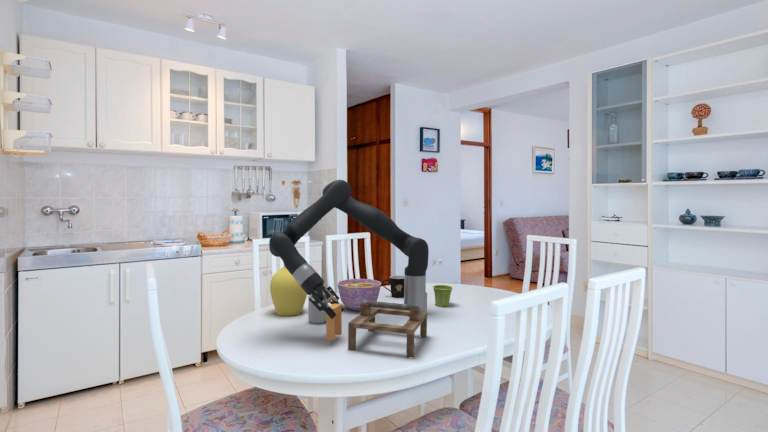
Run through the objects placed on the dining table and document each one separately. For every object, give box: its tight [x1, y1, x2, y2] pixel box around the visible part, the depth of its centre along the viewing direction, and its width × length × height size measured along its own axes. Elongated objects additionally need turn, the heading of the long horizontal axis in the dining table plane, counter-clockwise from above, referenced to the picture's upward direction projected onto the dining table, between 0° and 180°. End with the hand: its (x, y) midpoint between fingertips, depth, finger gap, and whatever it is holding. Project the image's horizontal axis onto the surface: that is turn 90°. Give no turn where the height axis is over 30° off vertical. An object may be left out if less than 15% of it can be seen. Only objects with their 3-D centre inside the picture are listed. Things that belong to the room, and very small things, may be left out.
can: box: [307, 294, 326, 325], centre depth 170 cm, size 8×8×12 cm
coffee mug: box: [381, 275, 404, 299], centre depth 214 cm, size 12×9×10 cm
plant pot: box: [432, 284, 454, 308], centre depth 198 cm, size 9×9×9 cm
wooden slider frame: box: [347, 300, 428, 358], centre depth 147 cm, size 22×22×14 cm
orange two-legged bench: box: [325, 303, 343, 341], centre depth 148 cm, size 3×6×11 cm, turn 163°
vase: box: [269, 265, 308, 317], centre depth 182 cm, size 16×16×28 cm
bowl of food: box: [336, 278, 382, 312], centre depth 191 cm, size 20×20×12 cm
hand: (338, 314), depth 147 cm, fingers closed on orange two-legged bench, 6 cm apart
